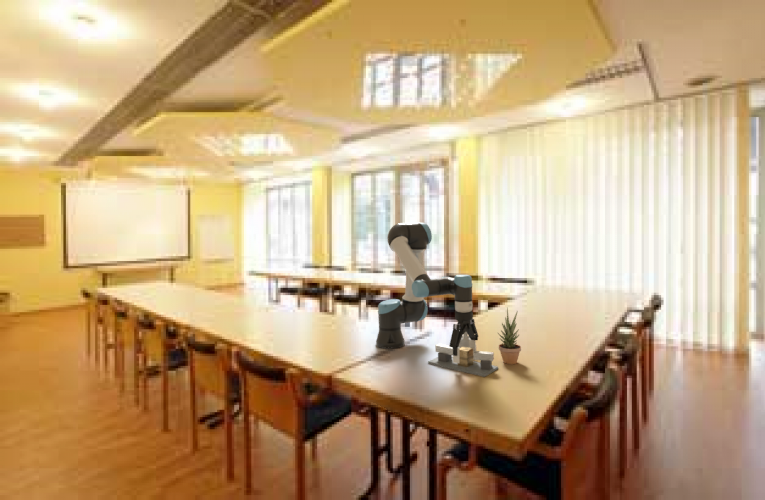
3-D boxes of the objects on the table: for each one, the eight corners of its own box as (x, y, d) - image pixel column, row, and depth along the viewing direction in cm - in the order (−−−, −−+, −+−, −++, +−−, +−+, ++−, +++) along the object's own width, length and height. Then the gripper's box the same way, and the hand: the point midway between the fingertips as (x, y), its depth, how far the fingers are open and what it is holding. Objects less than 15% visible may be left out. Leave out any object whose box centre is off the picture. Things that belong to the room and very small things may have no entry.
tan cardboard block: (467, 367, 176) (467, 351, 175) (457, 365, 179) (456, 349, 179) (473, 364, 180) (473, 348, 179) (463, 361, 183) (463, 346, 183)
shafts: (435, 351, 188) (435, 345, 188) (442, 348, 192) (442, 342, 192) (489, 363, 170) (489, 356, 170) (496, 359, 174) (495, 352, 174)
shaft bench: (428, 363, 185) (428, 353, 185) (443, 356, 194) (442, 347, 194) (484, 377, 167) (484, 366, 166) (498, 368, 176) (497, 358, 175)
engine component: (455, 354, 198) (476, 354, 196) (454, 312, 197) (475, 312, 195) (455, 347, 208) (476, 348, 206) (454, 307, 207) (475, 307, 205)
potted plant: (521, 359, 187) (520, 305, 185) (521, 366, 178) (520, 309, 176) (498, 357, 190) (497, 305, 188) (497, 364, 181) (496, 309, 180)
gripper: (455, 316, 166) (456, 368, 168) (485, 306, 185) (486, 352, 186) (440, 314, 172) (441, 364, 173) (470, 304, 190) (471, 349, 191)
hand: (464, 358), depth 179 cm, fingers open, 13 cm apart
